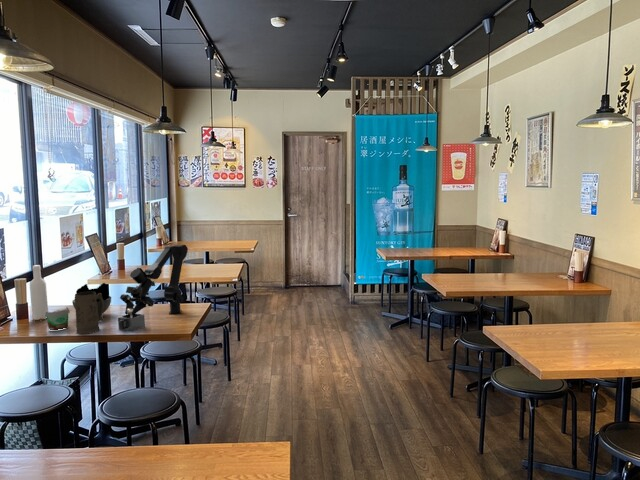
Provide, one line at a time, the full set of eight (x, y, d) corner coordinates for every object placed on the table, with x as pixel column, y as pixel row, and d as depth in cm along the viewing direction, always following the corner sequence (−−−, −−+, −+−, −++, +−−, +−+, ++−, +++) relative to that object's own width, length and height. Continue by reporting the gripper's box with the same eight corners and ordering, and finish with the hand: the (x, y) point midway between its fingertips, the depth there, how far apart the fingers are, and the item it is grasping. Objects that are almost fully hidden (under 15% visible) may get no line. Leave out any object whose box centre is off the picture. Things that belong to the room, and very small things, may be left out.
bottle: (40, 321, 284) (35, 267, 280) (29, 320, 286) (24, 266, 283) (52, 317, 291) (47, 264, 288) (41, 316, 294) (36, 264, 290)
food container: (53, 333, 260) (51, 313, 259) (46, 331, 264) (44, 312, 263) (76, 327, 271) (74, 308, 270) (69, 325, 274) (67, 306, 273)
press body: (132, 325, 272) (131, 312, 272) (145, 326, 269) (144, 314, 268) (114, 331, 262) (114, 318, 261) (128, 332, 258) (127, 320, 258)
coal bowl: (65, 320, 283) (63, 287, 281) (87, 311, 303) (85, 279, 301) (99, 321, 280) (97, 287, 278) (119, 312, 300) (117, 280, 297)
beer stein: (87, 335, 255) (86, 295, 254) (70, 333, 259) (69, 293, 258) (109, 328, 270) (109, 290, 269) (93, 327, 273) (93, 289, 272)
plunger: (131, 325, 271) (130, 306, 270) (141, 326, 268) (140, 307, 267) (122, 328, 265) (120, 309, 264) (132, 330, 262) (130, 310, 261)
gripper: (121, 278, 271) (105, 304, 262) (148, 281, 263) (133, 307, 255) (133, 290, 279) (118, 315, 270) (160, 293, 271) (146, 319, 263)
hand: (129, 314), depth 264 cm, fingers closed on plunger, 4 cm apart
